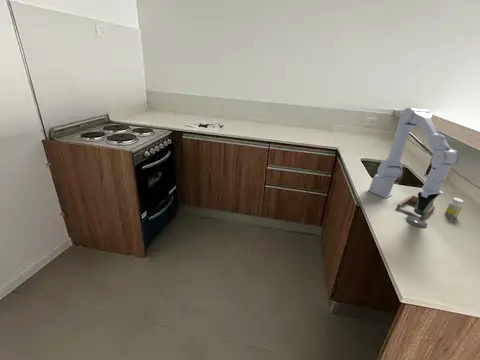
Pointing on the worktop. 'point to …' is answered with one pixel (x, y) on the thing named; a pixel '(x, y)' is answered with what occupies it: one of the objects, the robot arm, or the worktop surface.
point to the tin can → (425, 212)
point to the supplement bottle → (454, 207)
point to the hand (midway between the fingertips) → (422, 208)
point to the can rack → (414, 201)
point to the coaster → (416, 222)
